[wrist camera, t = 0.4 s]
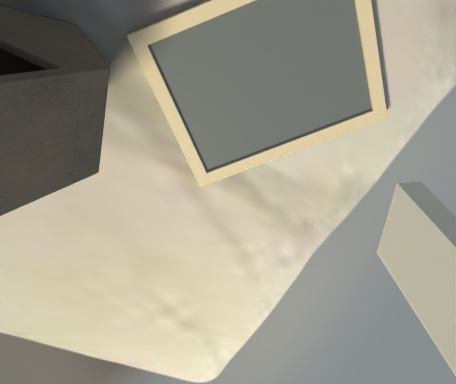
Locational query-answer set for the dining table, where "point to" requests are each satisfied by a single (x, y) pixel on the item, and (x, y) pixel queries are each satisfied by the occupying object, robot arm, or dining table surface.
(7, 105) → the planter
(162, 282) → the dining table surface
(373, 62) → the slate board
